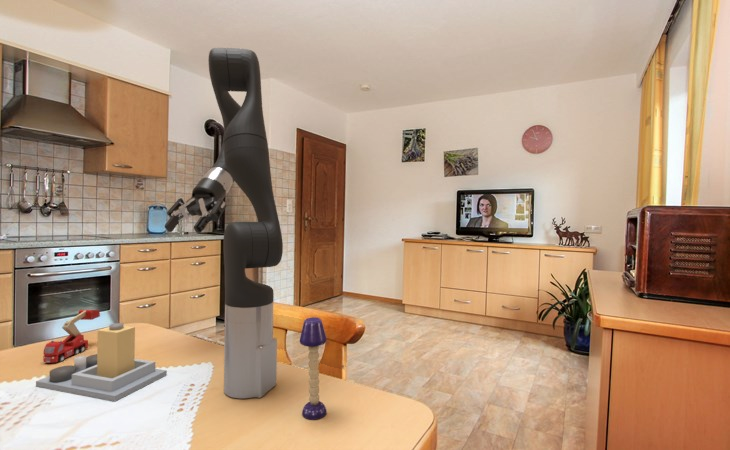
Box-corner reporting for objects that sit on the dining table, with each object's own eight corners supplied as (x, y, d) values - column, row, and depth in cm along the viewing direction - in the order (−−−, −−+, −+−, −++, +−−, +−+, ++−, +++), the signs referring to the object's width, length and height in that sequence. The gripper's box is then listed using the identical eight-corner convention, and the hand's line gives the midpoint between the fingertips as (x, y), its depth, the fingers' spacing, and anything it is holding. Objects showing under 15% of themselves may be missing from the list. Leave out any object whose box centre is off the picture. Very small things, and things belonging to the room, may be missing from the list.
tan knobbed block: (134, 375, 76) (134, 323, 76) (116, 383, 73) (117, 328, 72) (115, 372, 78) (115, 321, 78) (97, 379, 74) (97, 326, 74)
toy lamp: (313, 424, 61) (315, 324, 61) (292, 415, 64) (294, 319, 63) (331, 411, 65) (332, 318, 65) (311, 404, 68) (312, 314, 68)
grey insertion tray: (166, 375, 79) (166, 356, 79) (115, 401, 67) (115, 379, 67) (95, 363, 84) (95, 346, 84) (35, 386, 73) (36, 366, 73)
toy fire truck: (40, 364, 83) (40, 322, 83) (87, 343, 97) (87, 307, 97) (55, 364, 83) (55, 322, 83) (100, 344, 97) (100, 307, 97)
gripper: (184, 177, 101) (149, 218, 90) (230, 176, 97) (198, 219, 86) (198, 197, 106) (166, 239, 95) (241, 197, 102) (213, 241, 91)
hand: (181, 230), depth 90 cm, fingers open, 8 cm apart
